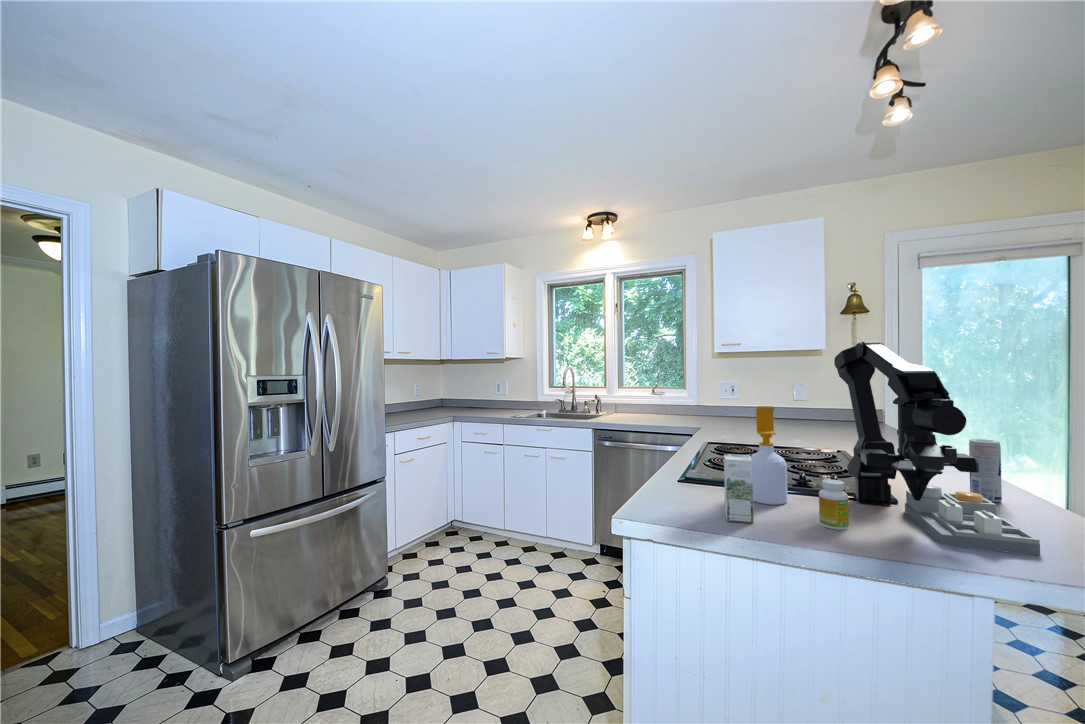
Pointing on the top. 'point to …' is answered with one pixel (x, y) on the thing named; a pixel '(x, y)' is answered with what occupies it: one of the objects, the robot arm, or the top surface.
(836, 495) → the supplement bottle
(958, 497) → the button
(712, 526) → the top surface
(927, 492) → the button
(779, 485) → the soap bottle
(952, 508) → the slider
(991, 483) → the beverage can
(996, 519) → the slider
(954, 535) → the panel
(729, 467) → the syrup box
